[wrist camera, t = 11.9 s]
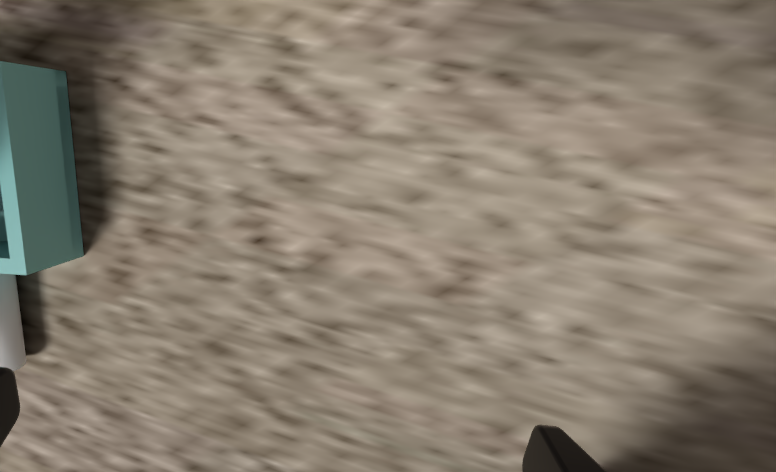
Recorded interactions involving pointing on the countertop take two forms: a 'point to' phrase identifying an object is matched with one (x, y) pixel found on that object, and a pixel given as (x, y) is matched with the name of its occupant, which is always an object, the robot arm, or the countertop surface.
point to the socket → (33, 189)
